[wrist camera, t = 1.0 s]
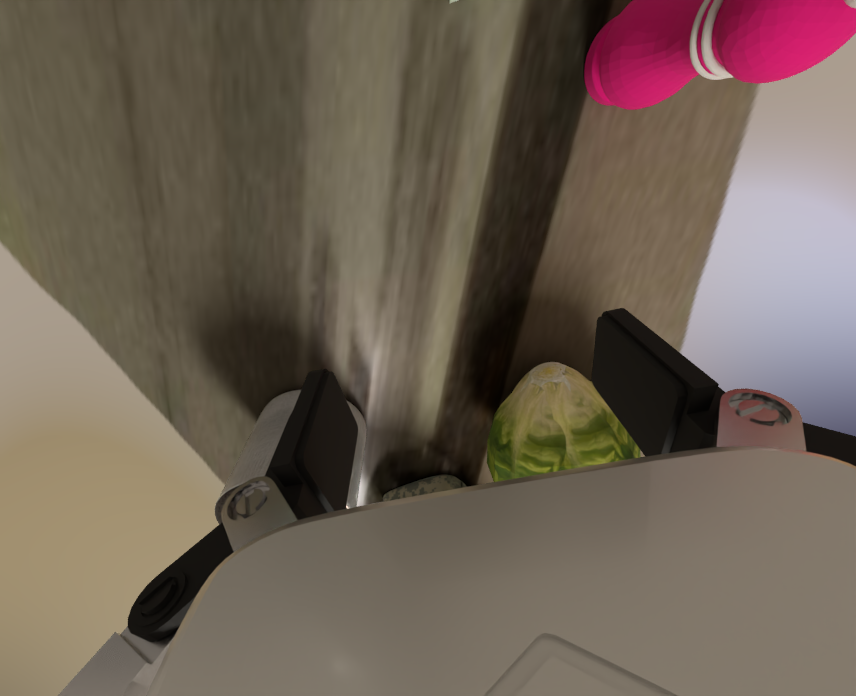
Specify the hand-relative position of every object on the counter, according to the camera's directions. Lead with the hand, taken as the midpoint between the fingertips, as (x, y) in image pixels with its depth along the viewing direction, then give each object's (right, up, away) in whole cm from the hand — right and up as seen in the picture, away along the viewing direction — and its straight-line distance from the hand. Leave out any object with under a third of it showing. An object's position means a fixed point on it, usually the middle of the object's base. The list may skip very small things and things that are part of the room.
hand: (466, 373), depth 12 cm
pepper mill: (+16, +26, +17) cm, 35 cm away
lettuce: (+15, -7, +40) cm, 43 cm away
